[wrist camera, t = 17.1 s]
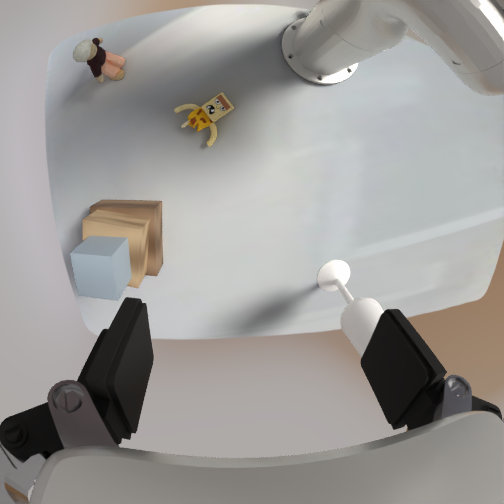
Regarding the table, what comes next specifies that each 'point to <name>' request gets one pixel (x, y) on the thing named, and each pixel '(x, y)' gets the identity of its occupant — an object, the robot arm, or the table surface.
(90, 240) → the blue cube
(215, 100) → the character toy
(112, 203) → the tower bottom
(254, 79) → the table surface
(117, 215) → the tower top
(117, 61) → the grandmother figurine
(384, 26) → the robot arm
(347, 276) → the champagne flute
